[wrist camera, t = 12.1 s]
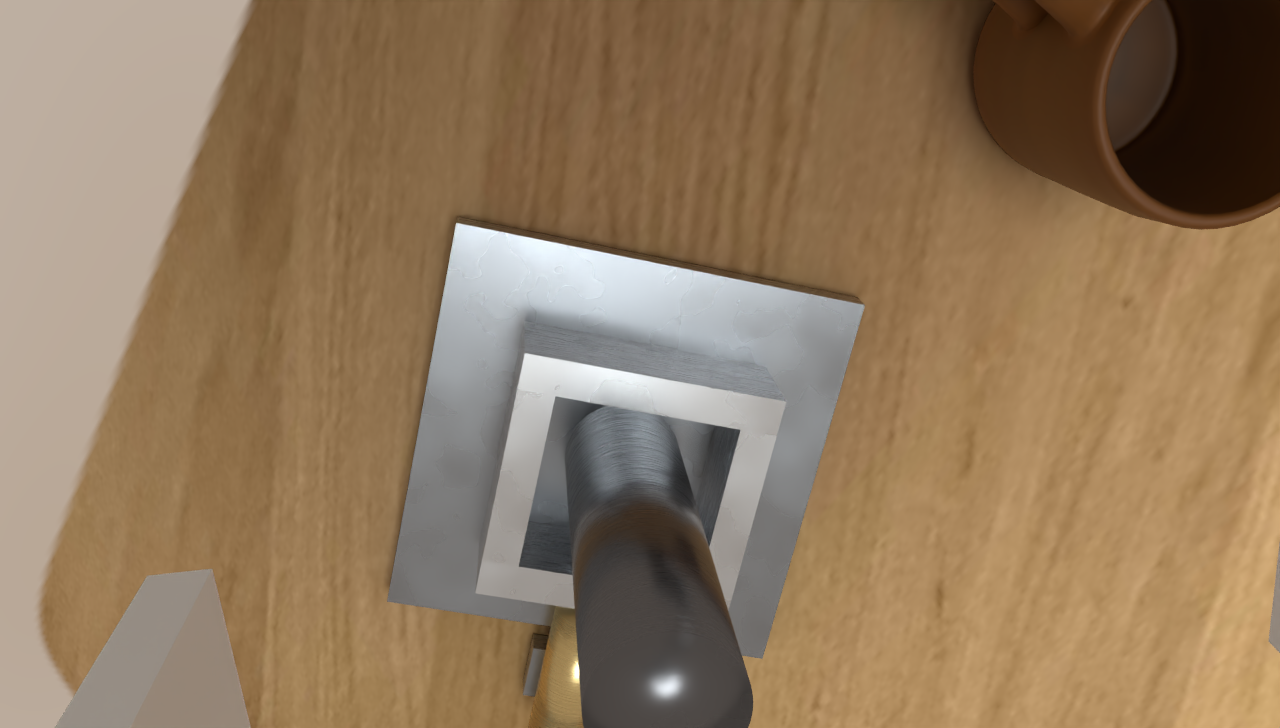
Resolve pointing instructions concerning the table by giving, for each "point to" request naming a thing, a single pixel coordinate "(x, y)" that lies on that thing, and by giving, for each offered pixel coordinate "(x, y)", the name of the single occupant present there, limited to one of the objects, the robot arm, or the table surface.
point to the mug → (1140, 102)
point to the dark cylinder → (646, 584)
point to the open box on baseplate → (619, 377)
